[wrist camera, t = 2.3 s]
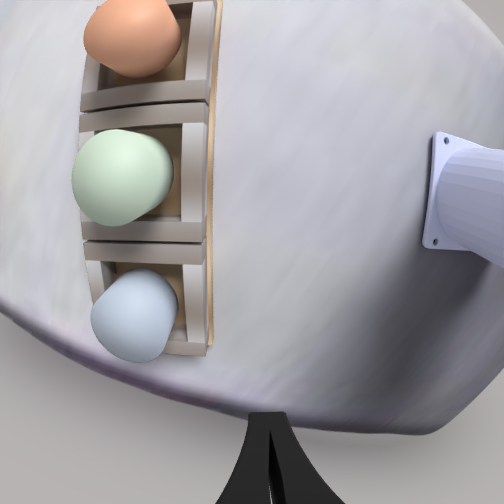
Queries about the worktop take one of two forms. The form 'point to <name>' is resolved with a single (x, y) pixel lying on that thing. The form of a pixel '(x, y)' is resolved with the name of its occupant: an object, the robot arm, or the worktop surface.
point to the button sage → (121, 176)
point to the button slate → (135, 315)
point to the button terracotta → (133, 36)
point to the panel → (185, 172)
